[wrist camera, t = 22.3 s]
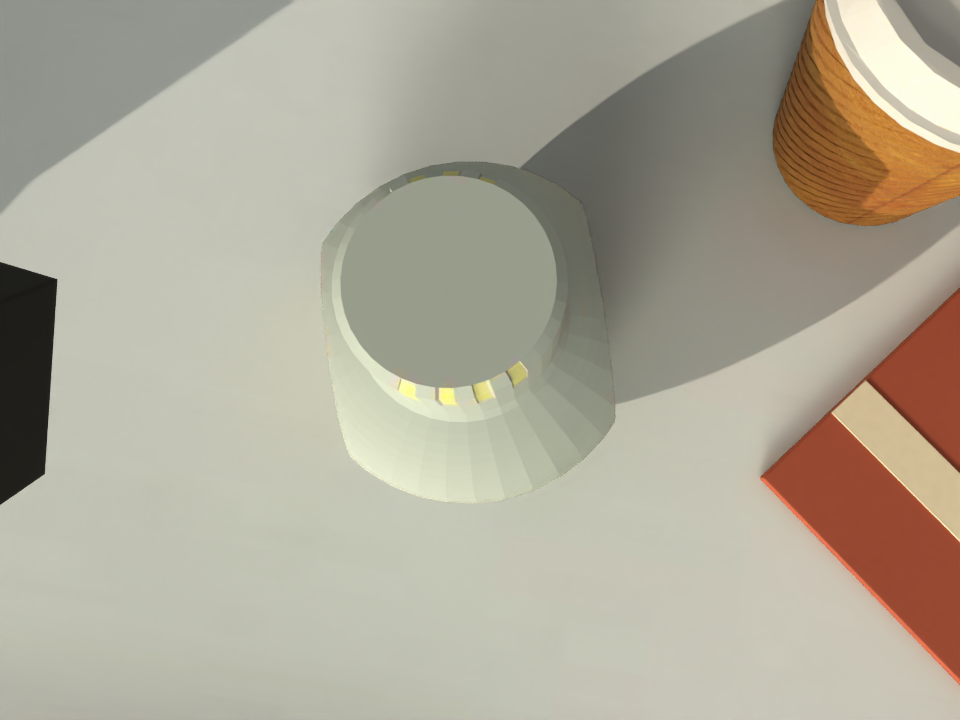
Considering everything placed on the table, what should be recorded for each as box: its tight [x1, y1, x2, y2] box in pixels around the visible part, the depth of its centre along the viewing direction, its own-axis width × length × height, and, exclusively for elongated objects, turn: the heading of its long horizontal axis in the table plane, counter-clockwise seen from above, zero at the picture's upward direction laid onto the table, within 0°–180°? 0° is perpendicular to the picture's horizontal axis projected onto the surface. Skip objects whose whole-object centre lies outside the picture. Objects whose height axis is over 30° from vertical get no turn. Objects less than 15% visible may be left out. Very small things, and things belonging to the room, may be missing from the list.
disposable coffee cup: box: [773, 0, 960, 226], centre depth 26 cm, size 10×10×12 cm
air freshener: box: [321, 162, 615, 503], centre depth 27 cm, size 11×8×10 cm
